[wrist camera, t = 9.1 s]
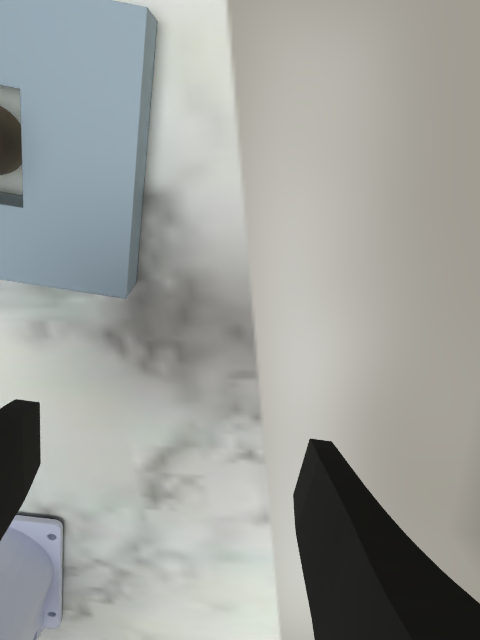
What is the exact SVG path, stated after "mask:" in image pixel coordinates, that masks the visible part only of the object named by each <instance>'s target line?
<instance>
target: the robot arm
mask: <svg viewBox="0 0 480 640" xmlns="http://www.w3.org/2000/svg"><path fill="white" fill-rule="evenodd" d="M39 466H40V403H39V402H32V401H24V400H17V399H15V400H14V401H12V402H10V403H9V404H7V405H5V406H4V407H2V408H1V409H0V640H38V639H39V637H40V634H41V631H42V629H43V628H57V627H59V626H60V623H61V620H62V560H63V525H62V523H61V522H60V521H58V520H55V519H47V518H39V517H30V516H21V515H16V514H17V512H18V511H19V509H20V507H21V505H22V504H23V502H24V500H25V498H26V496H27V494H28V491H29V489H30V487H31V485H32V482H33V480H34V478H35V475H36V473H37V471H38V468H39ZM293 497H294V515H295V528H296V536H297V542H298V547H299V552H300V559H301V564H302V569H303V574H304V580H305V585H306V591H307V596H308V600H309V607H310V612H311V617H312V623H313V630H314V637H315V640H480V604H479V603H478V602H477V601H476V600H475V599H474V598H472V597H471V596H470V595H469V594H468V593H467V592H466V591H464V590H463V589H462V588H461V587H460V586H458V585H457V584H456V583H455V582H454V581H453V580H452V579H451V578H450V577H448V576H447V575H446V574H445V573H444V572H443V571H442V570H441V569H440V568H439V567H438V566H437V565H436V564H435V563H434V562H433V561H432V560H431V559H430V558H429V557H428V556H426V554H425V553H424V552H423V551H421V549H419V547H417V545H416V544H415V543H414V542H413V541H412V540H411V539H410V538H409V537H408V536H407V535H406V534H405V533H404V532H403V530H401V528H400V527H399V526H398V525H397V524H396V523H395V521H394V520H393V519H392V518H391V517H390V516H389V515H388V514H387V512H386V511H385V510H384V509H383V508H382V507H381V505H380V504H379V503H378V502H377V500H376V499H375V498H374V497H373V495H372V494H371V493H370V492H369V490H368V489H367V488H366V487H365V485H364V484H363V483H362V481H361V480H360V479H359V477H358V476H357V475H356V473H355V472H354V471H353V469H352V468H351V467H350V465H349V464H348V463H347V461H346V460H345V459H344V457H343V456H342V455H341V453H340V452H339V451H338V449H337V448H336V447H335V445H334V444H333V443H332V442H331V441H324V440H316V439H310V440H309V443H308V447H307V450H306V453H305V457H304V460H303V464H302V467H301V470H300V474H299V477H298V481H297V484H296V488H295V491H294V494H293Z"/></svg>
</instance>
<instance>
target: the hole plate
mask: <svg viewBox="0 0 480 640" xmlns="http://www.w3.org/2000/svg"><path fill="white" fill-rule="evenodd" d="M156 31H157V20H156V19H155V17H154V16H153V15H152V13H151V12H150V11H149V9H148V8H147V7H142V6H137V5H132V4H128V3H123V2H118V1H113V0H0V85H3V86H8V87H14V88H19V89H20V100H21V137H22V175H23V196H21V195H15V194H9V193H3V192H0V279H1V280H7V281H14V282H20V283H27V284H33V285H40V286H46V287H53V288H59V289H66V290H72V291H79V292H85V293H92V294H98V295H105V296H111V297H118V298H124V299H126V298H127V297H128V295H129V293H130V292H131V290H132V288H133V287H134V285H135V284H136V279H137V266H138V254H139V242H140V229H141V217H142V204H143V192H144V180H145V167H146V155H147V142H148V130H149V118H150V105H151V93H152V80H153V68H154V56H155V43H156Z"/></svg>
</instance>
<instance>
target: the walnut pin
mask: <svg viewBox="0 0 480 640" xmlns="http://www.w3.org/2000/svg"><path fill="white" fill-rule="evenodd" d="M21 164H22V137H21V125H20V124H19V122H18V121H17V119H16V118H15V117H14V116H13V115H12V114H11V113H10V112H8V111H7V110H6V109H4V108H2V107H0V175H3V174H7V173H10V172H12V171H14V170H16V169H17V168H18V167H19V166H20V165H21Z"/></svg>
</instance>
